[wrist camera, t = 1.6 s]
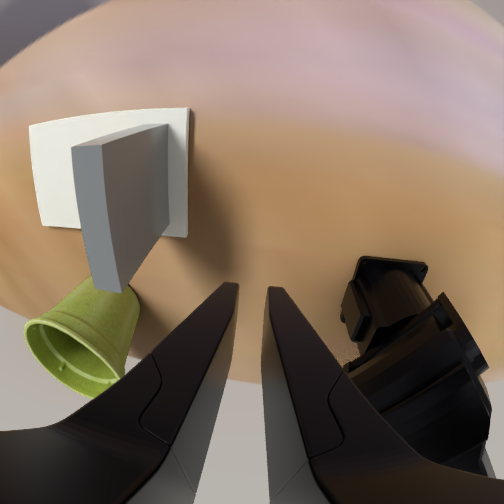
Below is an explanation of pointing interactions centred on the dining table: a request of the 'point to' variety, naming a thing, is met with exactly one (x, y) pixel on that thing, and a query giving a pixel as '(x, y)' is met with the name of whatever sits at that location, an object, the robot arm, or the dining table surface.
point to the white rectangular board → (91, 127)
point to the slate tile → (121, 200)
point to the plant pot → (85, 337)
